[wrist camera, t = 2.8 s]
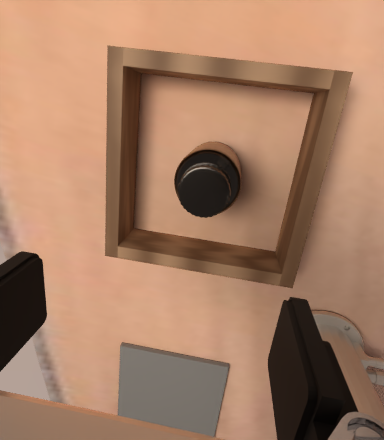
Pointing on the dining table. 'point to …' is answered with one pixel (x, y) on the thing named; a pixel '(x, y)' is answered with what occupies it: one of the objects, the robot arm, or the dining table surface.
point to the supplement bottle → (208, 179)
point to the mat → (170, 388)
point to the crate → (196, 248)
